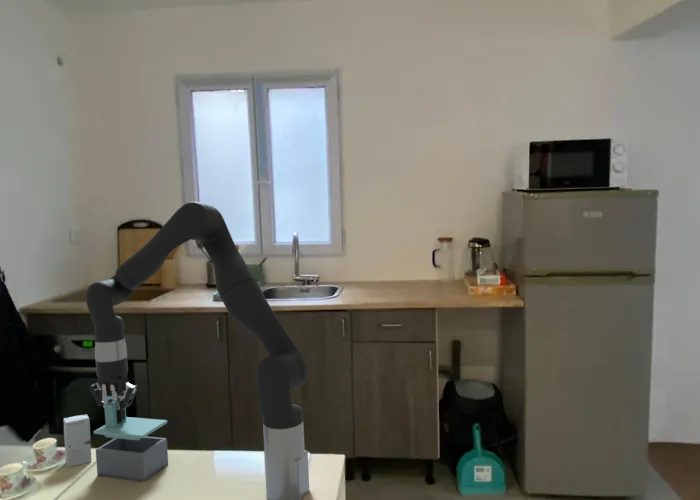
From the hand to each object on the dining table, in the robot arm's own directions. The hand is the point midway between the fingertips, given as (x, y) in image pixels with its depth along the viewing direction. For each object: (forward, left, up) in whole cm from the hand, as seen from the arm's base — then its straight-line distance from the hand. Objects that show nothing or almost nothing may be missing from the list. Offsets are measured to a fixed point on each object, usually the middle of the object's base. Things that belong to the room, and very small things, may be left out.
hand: (115, 422), depth 150 cm
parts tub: (-4, 0, -12) cm, 13 cm away
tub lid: (-5, 0, -2) cm, 5 cm away
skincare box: (+14, -1, -13) cm, 19 cm away
